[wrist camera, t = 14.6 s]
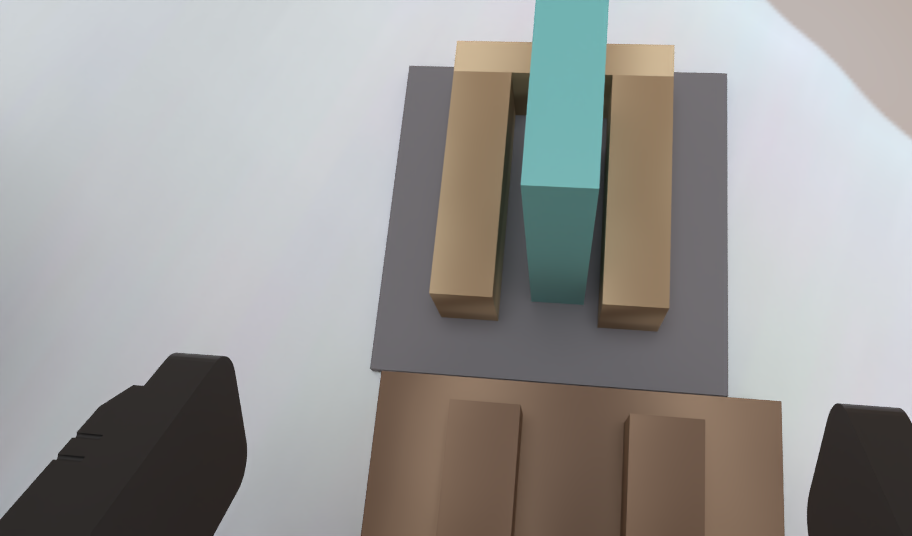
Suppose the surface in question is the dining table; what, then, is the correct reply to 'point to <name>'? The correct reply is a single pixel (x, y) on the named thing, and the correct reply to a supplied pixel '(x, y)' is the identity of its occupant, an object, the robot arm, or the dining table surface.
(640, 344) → the mat
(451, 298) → the rack
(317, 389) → the dining table surface
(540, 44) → the teal rectangular pillar
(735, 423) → the brown wooden stand
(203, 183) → the dining table surface
